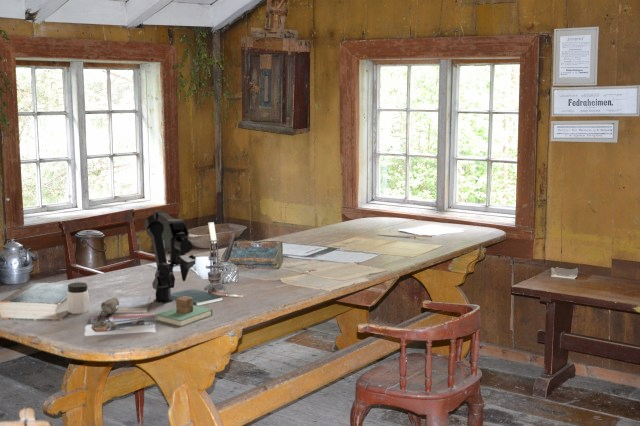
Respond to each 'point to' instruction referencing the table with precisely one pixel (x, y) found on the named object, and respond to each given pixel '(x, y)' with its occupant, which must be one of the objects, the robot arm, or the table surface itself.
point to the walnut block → (184, 305)
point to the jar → (77, 298)
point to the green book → (184, 316)
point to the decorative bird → (109, 306)
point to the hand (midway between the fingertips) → (176, 283)
